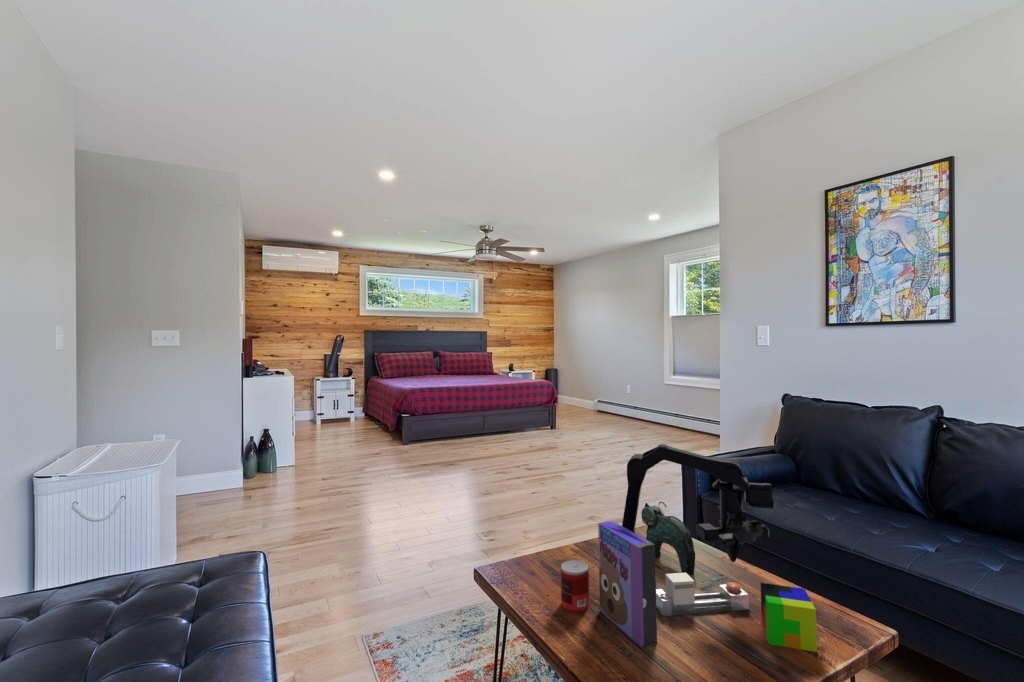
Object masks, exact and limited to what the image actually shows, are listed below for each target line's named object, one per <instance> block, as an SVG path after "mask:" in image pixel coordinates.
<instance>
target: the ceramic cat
mask: <svg viewBox="0 0 1024 682" xmlns="http://www.w3.org/2000/svg"><path fill="white" fill-rule="evenodd" d="M660 504H662V505H663V506H664V507H665V508H667V504H665V502H663V501H659V502H658V505H660ZM641 521H642V523H644V524H645V525H646V526H647V528H646V532H645V533H646V538H645V539H646V540H648V541H649V542H651V543H653V544H655V559H657V558H659V557H661V548H662V545H663V544H667V545H669V546H670V547H672V548H673V550H675V552H676V555H677V557H678V562H679V565H680V566H679V567H680V571H681V572H680V573H687V574H688V575H689V576H691V575H694V574H695V566H696V552H695V547H694V541H693V538H692V534H691V532H690V530H689V529H688V528H687V526H686V525H685V523H684V522H683V521H682V520H681V519H680V518H678V517H676V516H673V515H665V513H664V512H663V510H662V509H661V508H660V506H656V505H652V506H651V505H649V503H647V502H646V503H645V504H644V507H643V508H642V509H641Z"/></svg>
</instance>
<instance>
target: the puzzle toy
mask: <svg viewBox="0 0 1024 682" xmlns="http://www.w3.org/2000/svg"><path fill="white" fill-rule="evenodd" d="M760 608H761V609H760V610H761V613H760V614H761V616H760V618H761V623H762V626H763V630H764V632H765V637H766V638H767V642H768V645H773V646H776V647H777V646H779V647H784V648H791V649H796V650H801V649H802V650H801V651H809V652H814V653H818V637H817V633H818V632H817V609H816V608H815V605H814V603H813V602H812V599H811V598H810V596H809V595H808V593H807V590H806V589H805V588H804V587H803V588H802V587H794V586H787V585H780V584H774V583H773V584H772V583H766V582H765V583H764V582H760Z"/></svg>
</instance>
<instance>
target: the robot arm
mask: <svg viewBox="0 0 1024 682" xmlns="http://www.w3.org/2000/svg"><path fill="white" fill-rule="evenodd" d="M662 461H667V462H671V463H674V464H678V465H681V466H685V467H689V468H692V469H695V470H699V471H702V472H705V473H708V474H709V475H711V476H713V477H714V478H716V481H714V482H713V483H712V489H714V490H719V505H718V506H717V510H718V511H719V513H720V515H719V516H720V520H719V519H718V520H717V523H718V525H719V527H715V526H714V525H712V524H711V523H709V522H708V523H697V525H696V526H695V534H696V535H697V536H699V538H701V539H702V540H703V541H705V542H717V541H718V540H719V539H720V541H721V543H722V545H723V547H724V549H725V551H726V554H727V556H728V558H729V561H731V563H735V562H736V561H737V558H738V555H739V553H740V550H741V548H742V546H743V545H744V544H745V543H748V542H749V543H750V542H751V543H755V541H756V539H757V538H756V537H758V538H760V539H764V538H765V539H767V538H770V530H769V527H767V526H766V525H765V524H763V523H761V521H760V520H748V518H747V514H746V513H747V512H746V511H744V509H743V507H744V505H743V494H744V503H745V504H747V506H748V507H749V508H752V509H762V510H763V509H764V510H774V504H775V503H774V501H775V500H774V497H773V491H772V484H771V483H769V482H763V483H761V482H751V481H750V482H749V480H748V478H747V477H746V476H745V475H744V474H743V472H742V469H741V465H740V464H739V462H738V461H737V460H736V459H733V458H730V457H722V456H707V455H706V456H705V455H702V454H699V453H696V452H695V453H694V452H691V451H688V450H684V449H680V448H676V447H672V446H669V445H667V444H664V443H659V444H658V445H657V446H656V447H653V448H651V449H649V450H647V451H645V452H643V453H636V454H633V455H632V456H631V457H630V459H629V460H628V462H627V464H626V478H627V491H626V492H627V493H626V499H625V504H624V511H623V517H622V521H621V522H622V524H621V526H623V527H624V528H626V529H628V530H630V531H632V532H633V533H635V534H636V530H635V529H636V522H637V516H638V512H639V511H638V509H639V505H640V498H641V490H642V486H643V484H644V480H645V478H646V475H647V472H648V470H649V469H652V468H653V467H655V466H656V465H658V464H659V463H660V462H662ZM743 492H744V493H743Z"/></svg>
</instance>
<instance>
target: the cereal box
mask: <svg viewBox="0 0 1024 682" xmlns="http://www.w3.org/2000/svg"><path fill="white" fill-rule="evenodd" d="M597 526H598V528H597V529H598V530H597V531H598V572H599V573H598V574H599V575H598V576H599V577H598V578H599V579H598V581H599V582H598V583H599V586H598V587H599V611H600V612H601V614H603V615H604V616H605V617H606V618H607V619H608V620H609V621H611V622H612V623H613V624H614V625H615V626H616V627H617V628H618V629H620V630H621V631H622V632H623V633H624V634H625V635H626V636H627V637H628V638H629V639H631V640H632V641H633V642H634V643H635V644H636V645H637V646H638V647H640V648H646V647H648V646H652V645H654V644H657V643H658V629H657V628H658V624H657V619H658V618H657V607H656V589H657V580H656V578H657V576H656V572H657V571H656V558H655V544H653V543H651V542H649V541H648V540H646V538H645V537H642V536H641V535H639V534H637V533H636V532H635V533H633V532H632V531H630V530H628V529H626V528H624V527H623V526H622V524H619V523H617V522H615V521H614V520H610V521H609V520H607V521H606V520H605V521H603V522H599V523H598V524H597Z"/></svg>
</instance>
